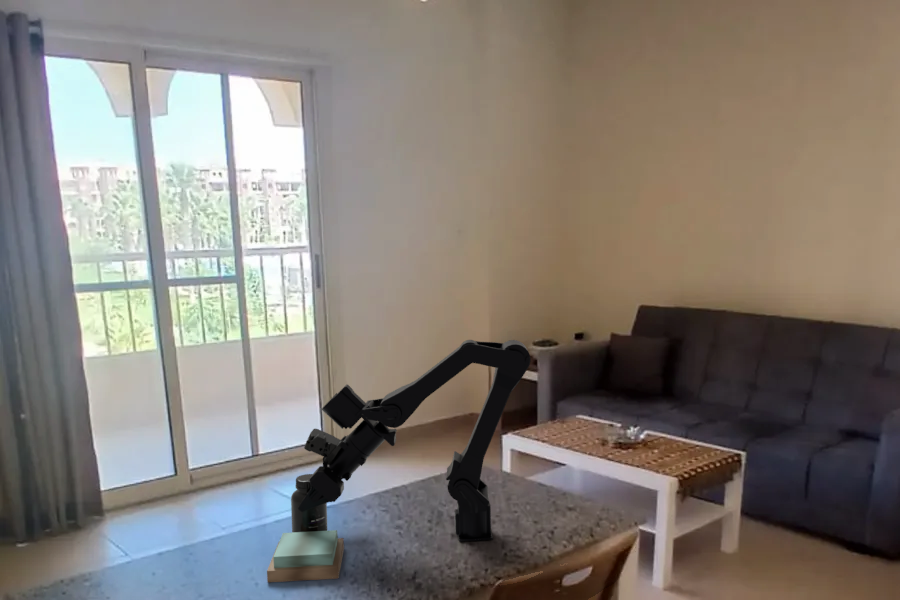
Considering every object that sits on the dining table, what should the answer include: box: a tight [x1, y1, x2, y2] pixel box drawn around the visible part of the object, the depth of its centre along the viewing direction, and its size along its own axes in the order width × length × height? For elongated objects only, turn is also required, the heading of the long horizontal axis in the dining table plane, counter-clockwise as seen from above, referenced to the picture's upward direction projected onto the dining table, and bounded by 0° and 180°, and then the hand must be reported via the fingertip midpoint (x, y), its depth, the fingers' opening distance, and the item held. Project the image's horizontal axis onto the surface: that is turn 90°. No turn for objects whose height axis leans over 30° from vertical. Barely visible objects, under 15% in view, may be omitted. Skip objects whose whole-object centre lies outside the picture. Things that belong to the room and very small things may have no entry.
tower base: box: [266, 529, 345, 583], centre depth 128 cm, size 12×12×4 cm
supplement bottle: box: [290, 473, 328, 533], centre depth 139 cm, size 7×7×12 cm
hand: (305, 501), depth 139 cm, fingers open, 9 cm apart
